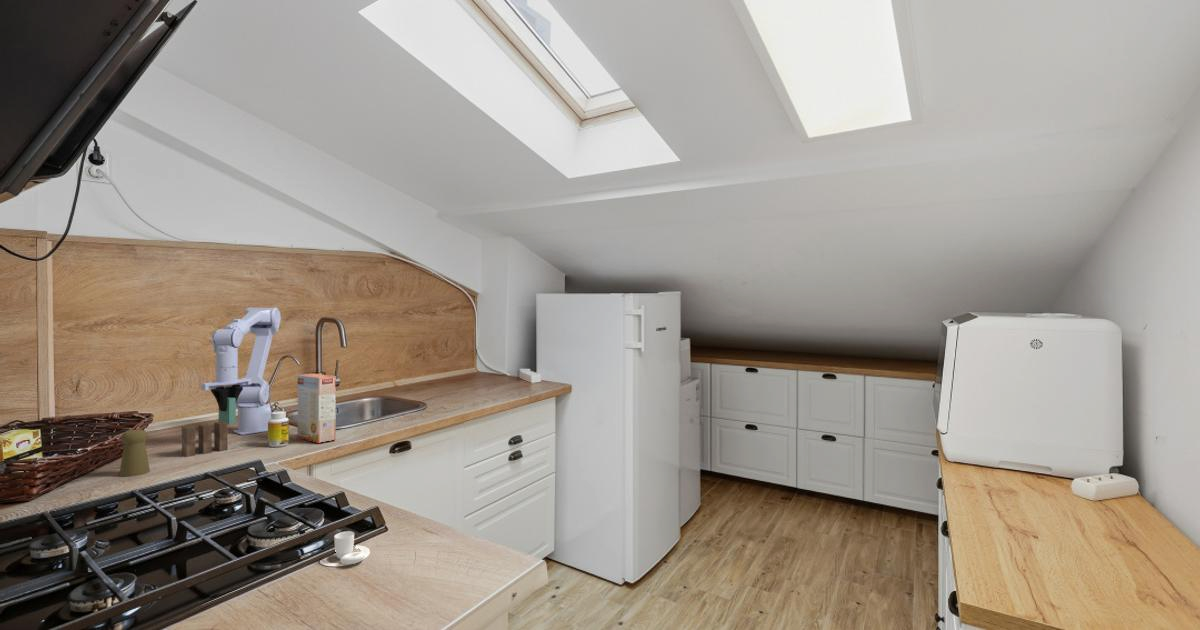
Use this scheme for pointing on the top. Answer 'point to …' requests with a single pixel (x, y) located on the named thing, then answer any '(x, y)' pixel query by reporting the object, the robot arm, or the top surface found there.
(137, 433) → the olive green pepper mill
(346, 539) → the teacup and saucer
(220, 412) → the domino head
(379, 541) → the top surface
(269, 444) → the supplement bottle
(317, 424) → the cracker box
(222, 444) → the domino
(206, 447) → the domino
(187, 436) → the domino
